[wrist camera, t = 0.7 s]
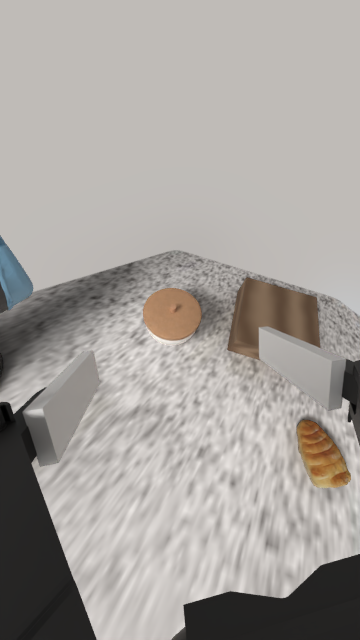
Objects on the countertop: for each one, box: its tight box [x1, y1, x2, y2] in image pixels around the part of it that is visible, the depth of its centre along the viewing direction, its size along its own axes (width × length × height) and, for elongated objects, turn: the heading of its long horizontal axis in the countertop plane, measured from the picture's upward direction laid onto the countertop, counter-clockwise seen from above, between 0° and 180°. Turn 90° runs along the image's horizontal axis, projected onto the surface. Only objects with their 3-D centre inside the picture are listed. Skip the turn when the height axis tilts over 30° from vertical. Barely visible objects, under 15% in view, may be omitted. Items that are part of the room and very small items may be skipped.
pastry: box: [297, 420, 351, 488], centre depth 32 cm, size 9×7×4 cm
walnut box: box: [227, 278, 320, 360], centre depth 42 cm, size 16×16×6 cm
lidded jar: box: [143, 288, 202, 346], centre depth 37 cm, size 11×11×9 cm
